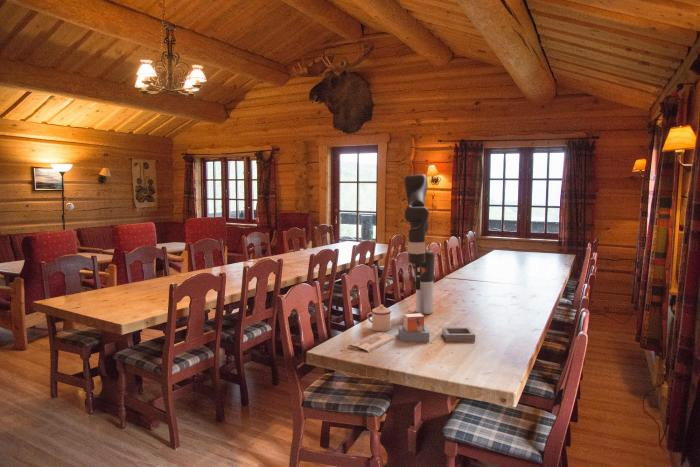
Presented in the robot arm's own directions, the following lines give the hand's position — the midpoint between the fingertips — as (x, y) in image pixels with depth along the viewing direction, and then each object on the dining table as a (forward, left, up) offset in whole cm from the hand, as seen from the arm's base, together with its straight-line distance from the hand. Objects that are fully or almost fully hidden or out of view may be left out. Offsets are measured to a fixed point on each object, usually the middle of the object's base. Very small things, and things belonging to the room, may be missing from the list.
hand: (416, 287), depth 211 cm
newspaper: (+8, -21, -23) cm, 33 cm away
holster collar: (+2, +18, -23) cm, 29 cm away
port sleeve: (+2, -2, -23) cm, 23 cm away
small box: (+2, -2, -23) cm, 23 cm away
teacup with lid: (-12, -17, -23) cm, 30 cm away
